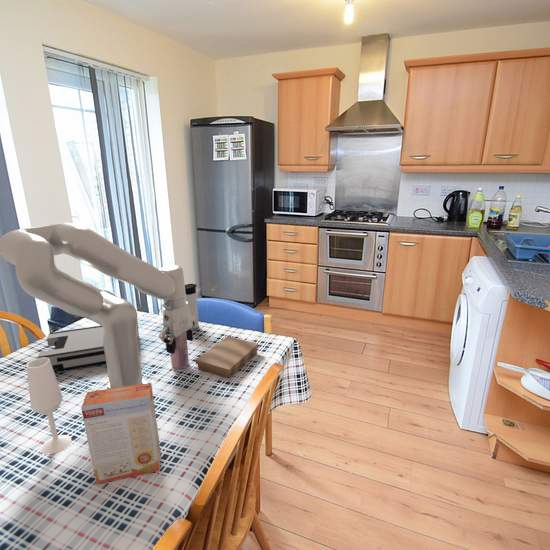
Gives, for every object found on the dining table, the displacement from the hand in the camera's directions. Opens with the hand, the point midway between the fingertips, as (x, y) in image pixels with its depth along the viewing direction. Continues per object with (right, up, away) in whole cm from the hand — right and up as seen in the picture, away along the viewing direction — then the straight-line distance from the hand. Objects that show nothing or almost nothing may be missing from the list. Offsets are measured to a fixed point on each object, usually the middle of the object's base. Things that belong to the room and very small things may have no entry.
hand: (180, 346), depth 128 cm
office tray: (-35, -5, +10) cm, 37 cm away
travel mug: (-3, +2, +31) cm, 31 cm away
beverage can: (0, -7, +2) cm, 8 cm away
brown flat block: (+17, -6, +4) cm, 18 cm away
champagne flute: (-23, -19, -34) cm, 45 cm away
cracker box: (-1, -21, -42) cm, 47 cm away
